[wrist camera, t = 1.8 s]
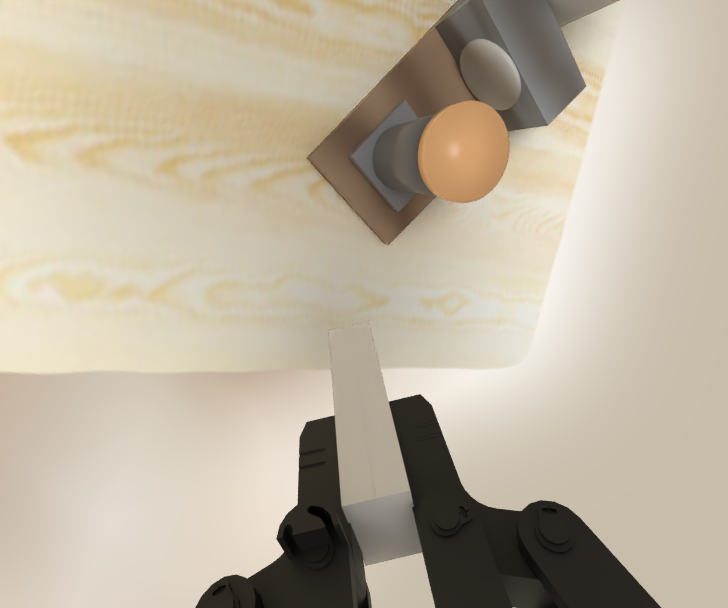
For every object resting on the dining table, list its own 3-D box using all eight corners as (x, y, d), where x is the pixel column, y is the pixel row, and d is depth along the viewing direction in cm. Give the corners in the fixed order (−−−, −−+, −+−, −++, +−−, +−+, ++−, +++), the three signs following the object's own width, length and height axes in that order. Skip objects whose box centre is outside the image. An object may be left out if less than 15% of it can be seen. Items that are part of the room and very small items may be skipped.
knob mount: (383, 241, 35) (416, 259, 28) (306, 157, 31) (324, 154, 24) (519, 102, 34) (586, 86, 28) (461, -4, 30) (524, -54, 23)
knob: (394, 210, 32) (459, 229, 23) (347, 156, 30) (399, 149, 20) (442, 161, 32) (530, 157, 22) (400, 101, 30) (478, 68, 20)
